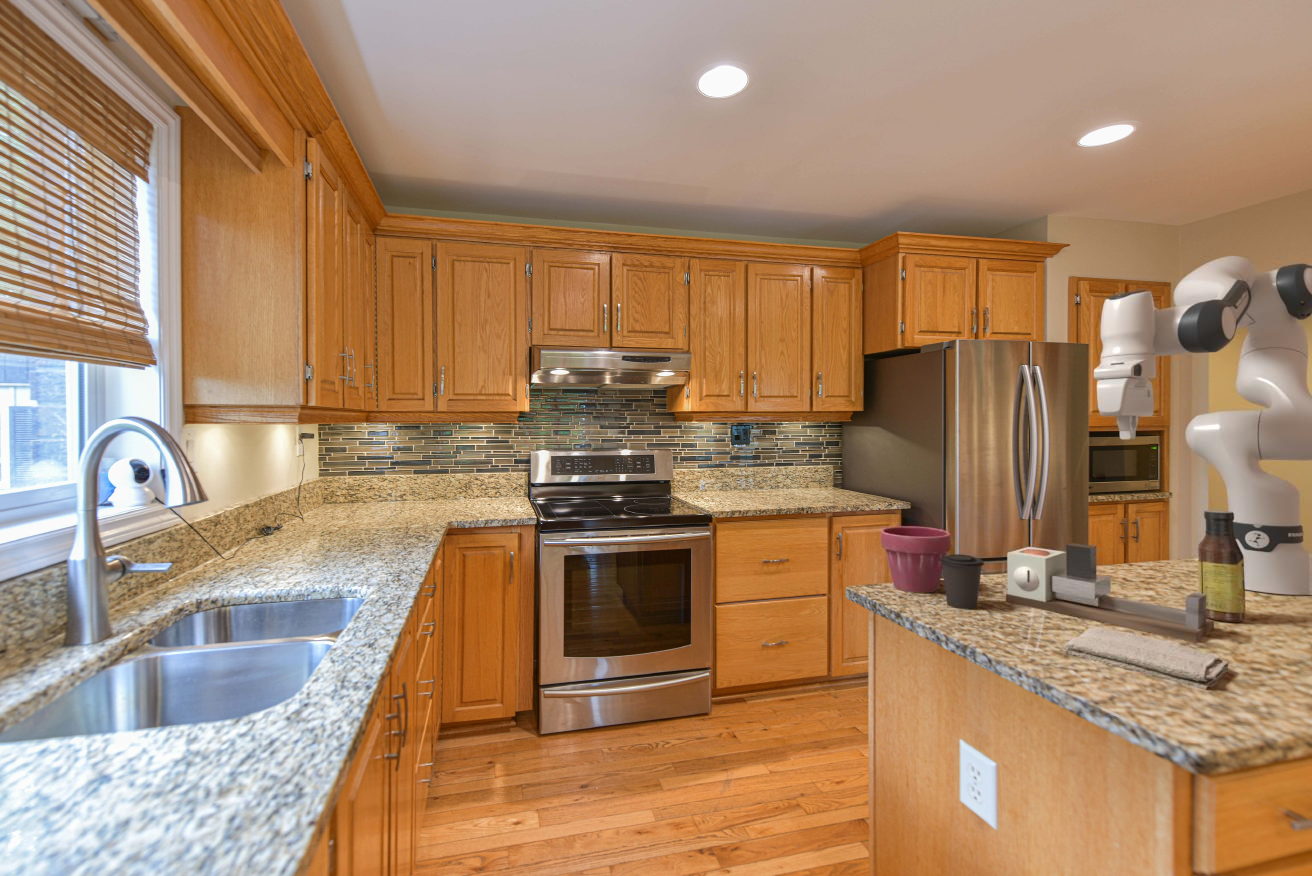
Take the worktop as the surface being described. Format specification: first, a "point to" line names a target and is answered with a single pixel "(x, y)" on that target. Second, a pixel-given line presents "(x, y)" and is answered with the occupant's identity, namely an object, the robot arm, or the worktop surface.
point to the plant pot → (915, 556)
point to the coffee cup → (961, 580)
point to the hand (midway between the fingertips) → (1127, 439)
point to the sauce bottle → (1221, 569)
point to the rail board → (1135, 614)
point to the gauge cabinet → (1033, 573)
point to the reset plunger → (1037, 552)
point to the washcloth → (1149, 656)
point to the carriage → (1081, 577)
